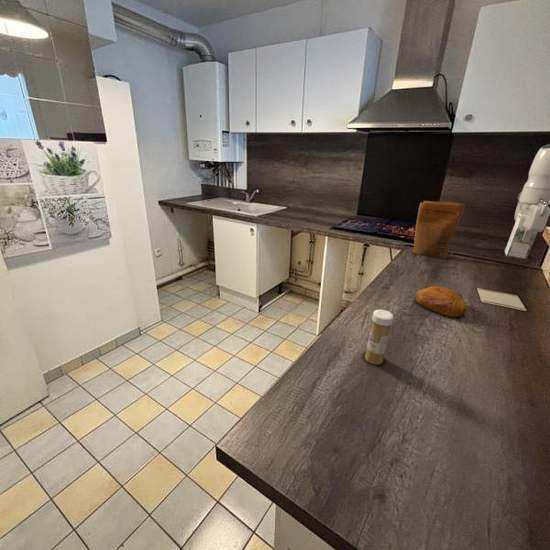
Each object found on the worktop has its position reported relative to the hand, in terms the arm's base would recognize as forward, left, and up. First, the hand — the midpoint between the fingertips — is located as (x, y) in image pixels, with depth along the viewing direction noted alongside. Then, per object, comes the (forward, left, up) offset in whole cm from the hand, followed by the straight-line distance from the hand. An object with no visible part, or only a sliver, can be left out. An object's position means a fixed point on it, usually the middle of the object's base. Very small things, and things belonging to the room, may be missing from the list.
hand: (521, 238), depth 99 cm
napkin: (0, +1, -23) cm, 23 cm away
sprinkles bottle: (+36, +59, -23) cm, 73 cm away
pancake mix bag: (+24, -40, -23) cm, 52 cm away
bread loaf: (+20, +19, -23) cm, 36 cm away
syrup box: (0, 0, -6) cm, 6 cm away
